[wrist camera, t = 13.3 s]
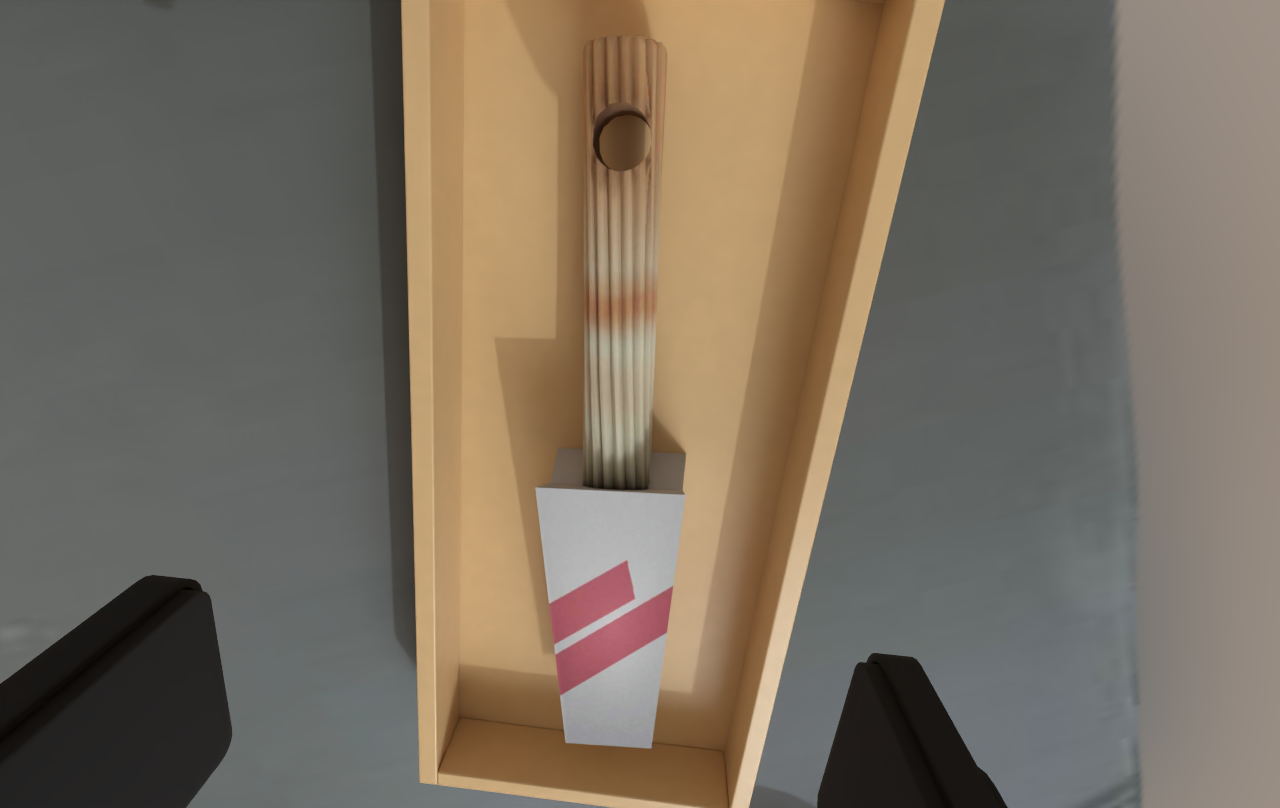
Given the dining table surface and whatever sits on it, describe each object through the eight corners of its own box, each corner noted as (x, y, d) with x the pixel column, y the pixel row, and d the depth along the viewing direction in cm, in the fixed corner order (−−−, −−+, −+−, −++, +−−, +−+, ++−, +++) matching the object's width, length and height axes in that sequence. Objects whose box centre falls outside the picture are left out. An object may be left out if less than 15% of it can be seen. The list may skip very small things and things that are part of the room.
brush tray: (449, 713, 22) (418, 783, 20) (448, -66, 14) (396, -125, 11) (736, 750, 22) (745, 825, 19) (906, -15, 14) (961, -64, 11)
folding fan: (538, 782, 18) (530, 23, 12) (555, 711, 21) (556, 58, 15) (666, 793, 18) (722, 29, 12) (667, 720, 20) (713, 63, 14)
